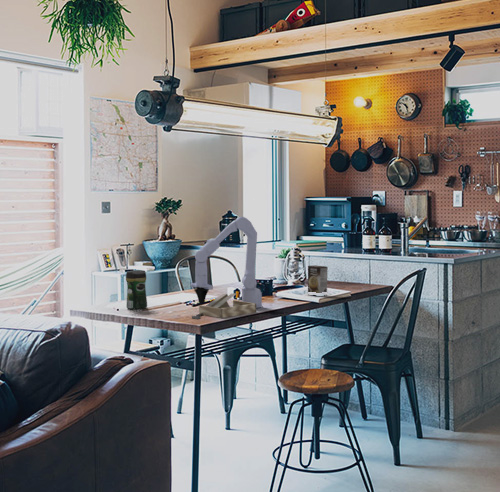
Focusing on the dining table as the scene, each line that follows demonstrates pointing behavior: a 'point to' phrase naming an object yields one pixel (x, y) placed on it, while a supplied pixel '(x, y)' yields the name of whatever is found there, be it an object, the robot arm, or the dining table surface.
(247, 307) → the bay
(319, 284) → the coffee box
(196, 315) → the hook
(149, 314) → the dining table surface
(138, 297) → the coffee jar
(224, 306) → the beige slanted rack
